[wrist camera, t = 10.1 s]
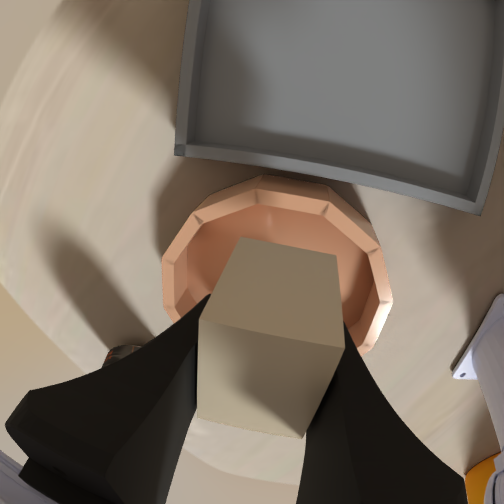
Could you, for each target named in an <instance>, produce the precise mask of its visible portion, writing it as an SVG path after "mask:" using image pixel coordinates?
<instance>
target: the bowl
mask: <svg viewBox="0 0 504 504" xmlns="http://www.w3.org/2000/svg"><path fill="white" fill-rule="evenodd" d="M240 237H245V238H251V239H256V240H261V241H266V242H271V243H277V244H282V245H287V246H292V247H297V248H302V249H307V250H312V251H317V252H322V253H328V254H333V255H336V257H337V266H338V274H339V284H340V293H341V304H342V315H343V321H344V322H345V324H346V326H347V329H348V331H349V333H350V335H351V337H352V339H353V341H354V343H355V345H356V347H357V350H358V351H359V353H360V355H361V356H362V355H364V354H365V353H367V352H368V351H369V350H371V349H372V348H373V347H374V345H375V342H376V340H377V338H378V336H379V334H380V331H381V329H382V327H383V325H384V322H385V320H386V318H387V315H388V313H389V311H390V308H391V306H392V303H393V298H392V293H391V288H390V284H389V279H388V275H387V271H386V266H385V262H384V258H383V254H382V250H381V246H380V244H379V241H378V239H377V236H376V234H375V231H374V229H373V227H372V224H371V223H370V222H368V221H367V220H366V219H365V218H364V217H363V216H362V215H361V214H360V213H359V212H357V211H356V210H355V209H354V208H353V207H352V206H351V205H350V204H348V203H347V202H346V201H345V200H344V199H343V198H341V197H340V196H339V195H338V194H337V193H336V192H335V191H333V190H332V189H331V188H330V187H329V186H327V185H324V184H318V183H313V182H308V181H302V180H297V179H291V178H285V177H279V176H273V175H267V174H263V175H260V176H257V177H255V178H252V179H249V180H247V181H244V182H241V183H239V184H236V185H234V186H231V187H228V188H226V189H223V190H221V191H218V192H216V193H213V194H211V195H209V196H208V197H207V198H206V199H205V200H204V201H203V202H202V203H201V204H200V205H199V206H198V207H197V208H196V209H195V210H194V211H193V212H192V214H191V215H190V216H189V218H188V219H187V221H186V222H185V224H184V225H183V227H182V228H181V230H180V231H179V233H178V234H177V236H176V237H175V239H174V240H173V242H172V243H171V245H170V246H169V248H168V249H167V251H166V252H165V254H164V255H163V257H162V285H163V305H164V309H165V310H166V312H167V313H168V315H169V317H170V318H171V320H172V321H173V323H175V322H177V321H178V320H179V319H180V318H181V317H183V316H184V315H185V314H186V313H187V312H189V311H190V310H191V309H192V308H193V307H194V306H195V305H196V304H198V303H199V302H200V301H201V300H202V299H203V298H204V297H205V296H206V295H208V294H212V292H213V290H214V288H215V286H216V284H217V282H218V280H219V278H220V276H221V274H222V272H223V270H224V268H225V266H226V264H227V262H228V260H229V258H230V256H231V254H232V252H233V250H234V248H235V246H236V244H237V242H238V241H239V239H240Z"/></svg>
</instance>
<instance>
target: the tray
mask: <svg viewBox="0 0 504 504" xmlns="http://www.w3.org/2000/svg"><path fill="white" fill-rule="evenodd" d="M503 128H504V0H189V6H188V13H187V20H186V28H185V35H184V43H183V52H182V61H181V70H180V81H179V91H178V103H177V116H176V131H175V148H174V155H175V156H185V157H194V158H202V159H211V160H218V161H226V162H233V163H241V164H248V165H254V166H261V167H267V168H274V169H280V170H286V171H291V172H297V173H303V174H308V175H314V176H319V177H324V178H329V179H334V180H339V181H344V182H349V183H354V184H358V185H363V186H367V187H372V188H376V189H381V190H385V191H389V192H393V193H398V194H402V195H406V196H410V197H414V198H418V199H421V200H425V201H429V202H433V203H436V204H440V205H444V206H447V207H451V208H454V209H458V210H461V211H465V212H468V213H471V214H475V215H478V216H481V213H482V210H483V207H484V204H485V201H486V197H487V194H488V190H489V187H490V183H491V180H492V176H493V172H494V168H495V164H496V160H497V156H498V152H499V147H500V143H501V138H502V133H503Z"/></svg>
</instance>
